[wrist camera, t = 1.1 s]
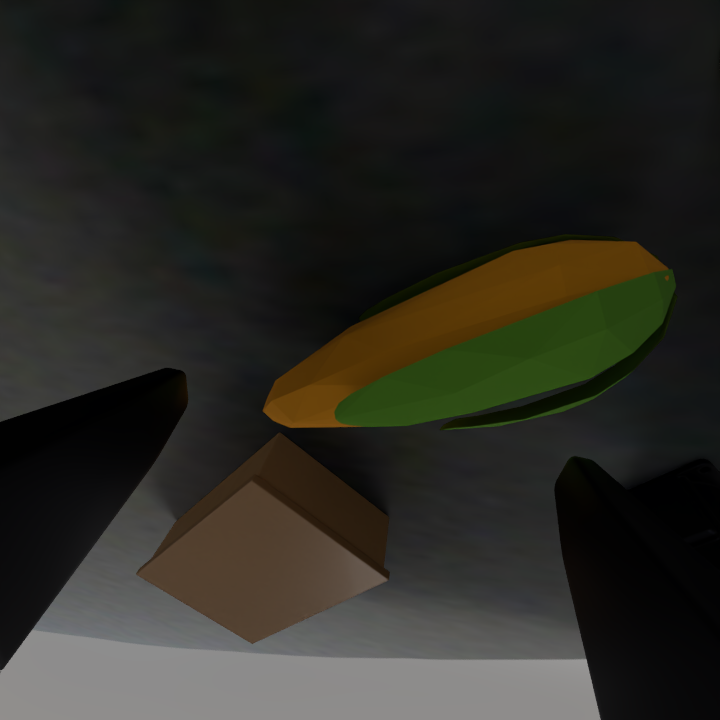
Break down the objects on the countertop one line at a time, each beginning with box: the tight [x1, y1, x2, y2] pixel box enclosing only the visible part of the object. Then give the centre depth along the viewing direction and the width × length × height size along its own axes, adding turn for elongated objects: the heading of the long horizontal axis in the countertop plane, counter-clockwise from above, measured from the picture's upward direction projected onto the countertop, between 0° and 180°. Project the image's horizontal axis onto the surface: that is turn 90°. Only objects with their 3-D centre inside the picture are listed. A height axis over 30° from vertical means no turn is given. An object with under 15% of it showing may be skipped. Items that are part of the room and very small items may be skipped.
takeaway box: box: [136, 433, 390, 644], centre depth 31 cm, size 17×12×5 cm
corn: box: [263, 234, 677, 430], centre depth 19 cm, size 7×8×20 cm
